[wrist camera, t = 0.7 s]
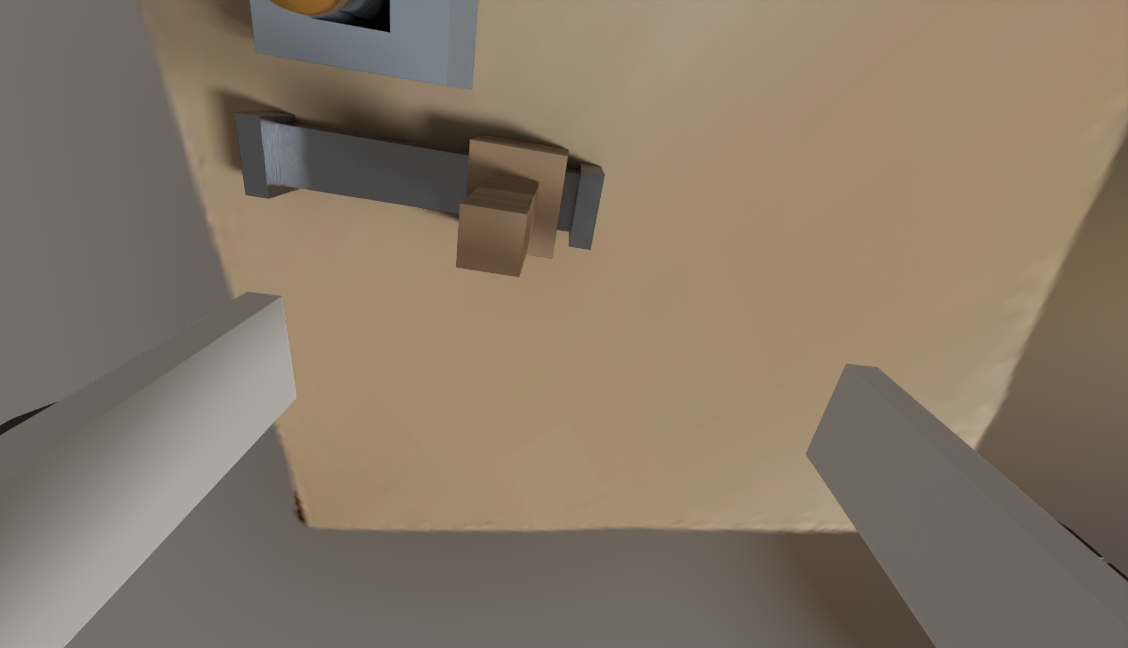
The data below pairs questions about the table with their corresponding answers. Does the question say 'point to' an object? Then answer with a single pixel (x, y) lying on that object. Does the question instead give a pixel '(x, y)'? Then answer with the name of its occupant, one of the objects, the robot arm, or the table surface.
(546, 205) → the carriage
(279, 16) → the block with square hole
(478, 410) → the table surface
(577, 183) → the rail
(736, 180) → the table surface
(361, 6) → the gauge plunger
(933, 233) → the table surface
